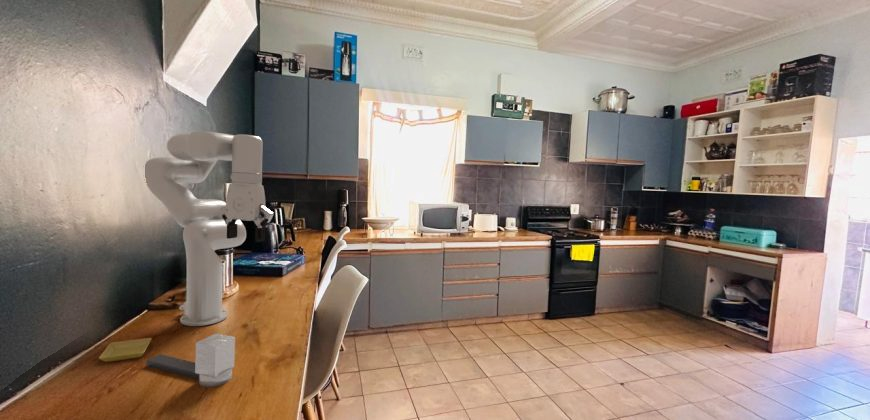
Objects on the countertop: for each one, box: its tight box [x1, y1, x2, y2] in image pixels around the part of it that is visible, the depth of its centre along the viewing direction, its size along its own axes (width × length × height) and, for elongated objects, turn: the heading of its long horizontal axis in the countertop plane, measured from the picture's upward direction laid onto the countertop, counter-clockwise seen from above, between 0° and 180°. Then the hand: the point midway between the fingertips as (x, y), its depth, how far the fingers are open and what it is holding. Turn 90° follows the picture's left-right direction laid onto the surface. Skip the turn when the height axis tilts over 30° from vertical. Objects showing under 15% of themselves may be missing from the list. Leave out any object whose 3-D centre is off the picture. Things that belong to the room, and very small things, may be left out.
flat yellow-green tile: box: [98, 337, 153, 363], centre depth 90 cm, size 9×9×2 cm
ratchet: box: [145, 353, 233, 388], centre depth 84 cm, size 22×6×5 cm, turn 75°
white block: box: [194, 333, 236, 378], centre depth 81 cm, size 5×5×7 cm
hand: (245, 239), depth 102 cm, fingers open, 9 cm apart
